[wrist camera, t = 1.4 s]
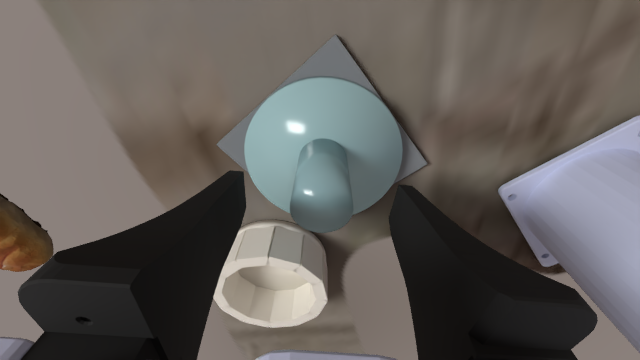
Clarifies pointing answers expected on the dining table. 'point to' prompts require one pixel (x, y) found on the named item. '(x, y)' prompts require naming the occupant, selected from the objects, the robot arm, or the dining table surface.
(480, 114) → the dining table surface
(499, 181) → the dining table surface
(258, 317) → the bowl
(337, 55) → the mat
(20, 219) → the pastry
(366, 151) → the lid
